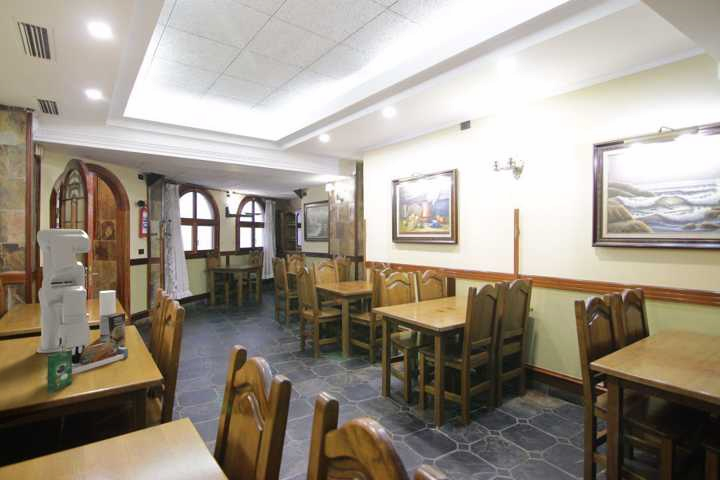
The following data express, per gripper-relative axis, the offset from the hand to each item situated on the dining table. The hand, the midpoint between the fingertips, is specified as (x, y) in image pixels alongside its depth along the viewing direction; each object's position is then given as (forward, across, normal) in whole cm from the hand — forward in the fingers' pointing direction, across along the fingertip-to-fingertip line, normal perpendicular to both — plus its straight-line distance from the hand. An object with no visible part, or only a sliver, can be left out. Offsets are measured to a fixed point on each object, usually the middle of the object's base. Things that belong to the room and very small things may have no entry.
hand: (75, 363), depth 149 cm
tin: (+3, -10, 0) cm, 10 cm away
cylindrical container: (+3, -37, -38) cm, 53 cm away
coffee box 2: (+3, -27, -18) cm, 33 cm away
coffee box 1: (+4, +12, +13) cm, 18 cm away
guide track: (+3, -5, 0) cm, 6 cm away
